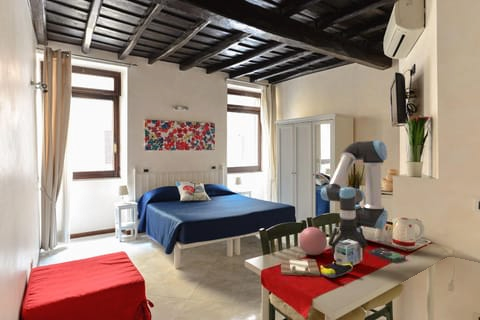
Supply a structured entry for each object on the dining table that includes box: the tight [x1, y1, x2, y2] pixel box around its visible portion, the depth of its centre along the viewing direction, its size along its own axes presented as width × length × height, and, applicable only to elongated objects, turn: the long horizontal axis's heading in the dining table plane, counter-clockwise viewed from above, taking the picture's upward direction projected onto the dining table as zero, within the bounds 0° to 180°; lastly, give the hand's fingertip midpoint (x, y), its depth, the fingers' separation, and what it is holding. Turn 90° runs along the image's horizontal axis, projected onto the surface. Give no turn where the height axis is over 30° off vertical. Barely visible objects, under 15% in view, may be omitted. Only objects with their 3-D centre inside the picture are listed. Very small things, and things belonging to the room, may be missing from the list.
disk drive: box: [368, 247, 406, 264], centre depth 153 cm, size 10×3×15 cm
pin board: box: [280, 253, 321, 277], centre depth 139 cm, size 18×18×4 cm
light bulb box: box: [336, 239, 361, 266], centre depth 142 cm, size 11×7×11 cm, turn 123°
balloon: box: [298, 226, 328, 256], centre depth 158 cm, size 15×20×15 cm
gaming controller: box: [320, 261, 354, 279], centre depth 130 cm, size 15×6×10 cm
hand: (348, 259), depth 142 cm, fingers closed on light bulb box, 12 cm apart
